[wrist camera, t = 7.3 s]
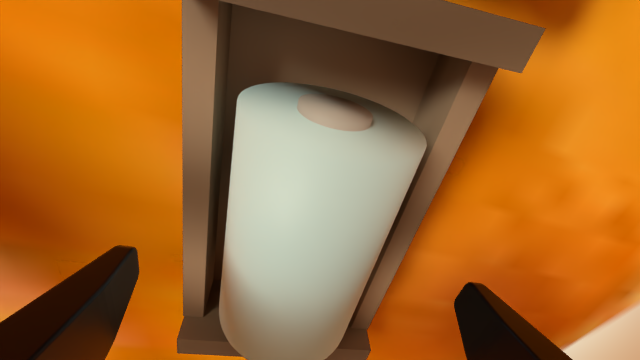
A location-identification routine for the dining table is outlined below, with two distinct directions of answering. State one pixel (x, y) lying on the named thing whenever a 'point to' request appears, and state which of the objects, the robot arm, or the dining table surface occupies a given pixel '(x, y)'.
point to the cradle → (337, 73)
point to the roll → (308, 214)
